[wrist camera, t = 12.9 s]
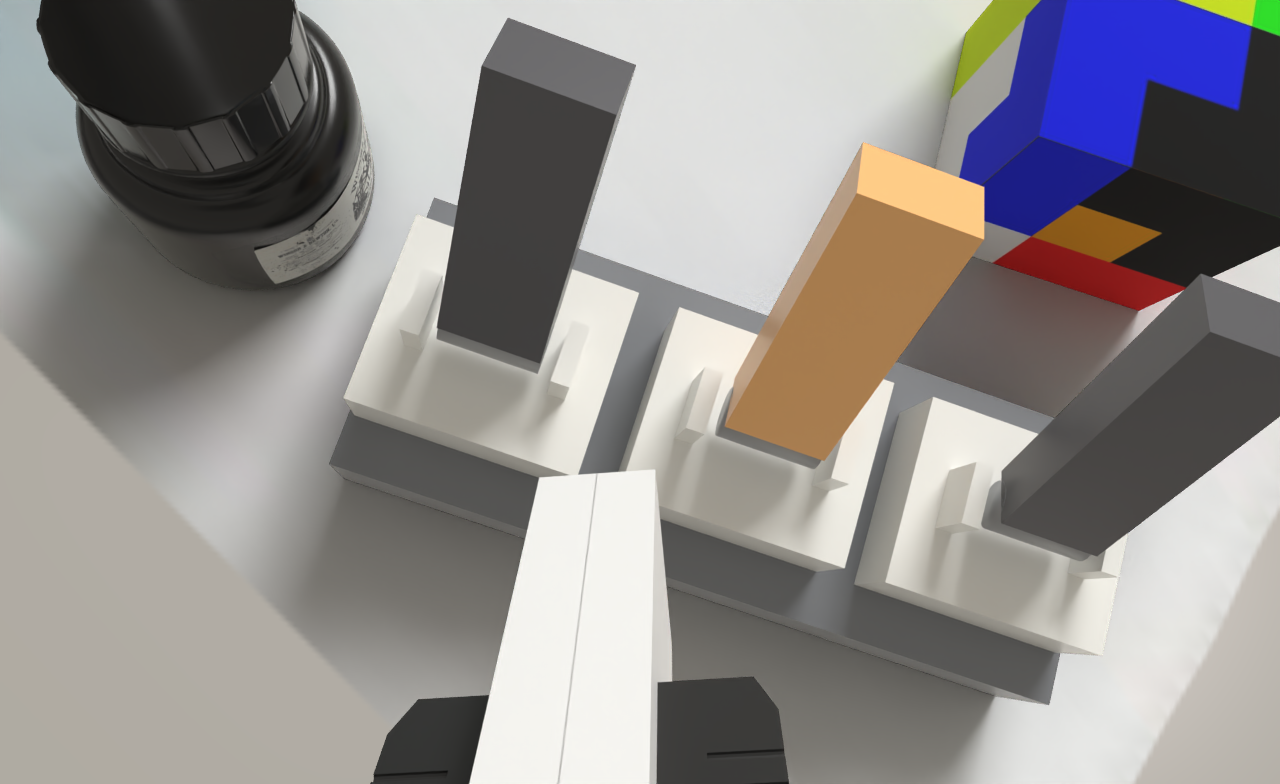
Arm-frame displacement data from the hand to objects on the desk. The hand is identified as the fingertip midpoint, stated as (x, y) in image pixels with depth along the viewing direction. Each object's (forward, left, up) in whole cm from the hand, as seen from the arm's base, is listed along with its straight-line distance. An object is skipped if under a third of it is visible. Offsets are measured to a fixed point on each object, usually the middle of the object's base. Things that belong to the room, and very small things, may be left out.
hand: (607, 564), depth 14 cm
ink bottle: (-14, -13, -26) cm, 32 cm away
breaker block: (-6, +6, -26) cm, 27 cm away
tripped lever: (-6, +6, -18) cm, 20 cm away
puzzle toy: (-21, +19, -26) cm, 39 cm away
